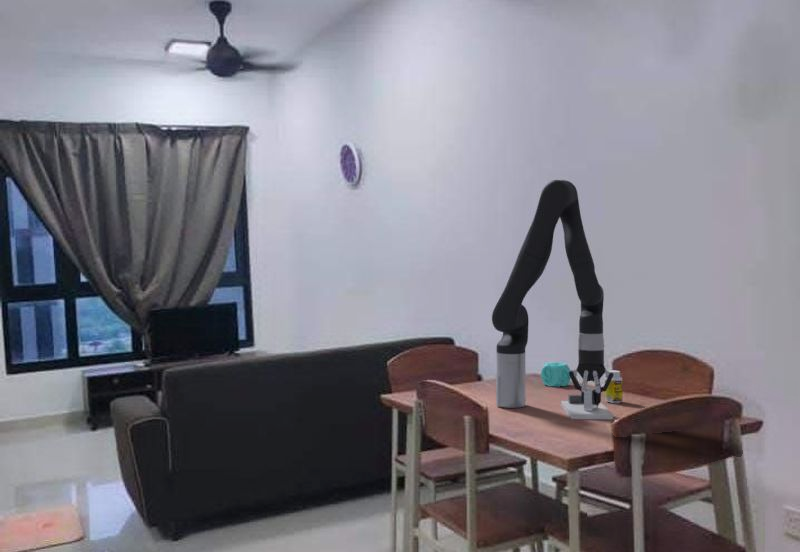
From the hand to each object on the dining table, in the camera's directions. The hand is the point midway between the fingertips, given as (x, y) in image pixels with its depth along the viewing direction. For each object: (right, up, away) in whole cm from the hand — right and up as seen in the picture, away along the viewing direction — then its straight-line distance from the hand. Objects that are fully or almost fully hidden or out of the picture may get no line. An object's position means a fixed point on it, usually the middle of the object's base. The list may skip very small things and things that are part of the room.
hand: (591, 404), depth 227 cm
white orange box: (0, -2, 0) cm, 2 cm away
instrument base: (-1, -3, +3) cm, 4 cm away
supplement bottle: (+12, -3, +18) cm, 22 cm away
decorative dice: (0, -2, +51) cm, 51 cm away
